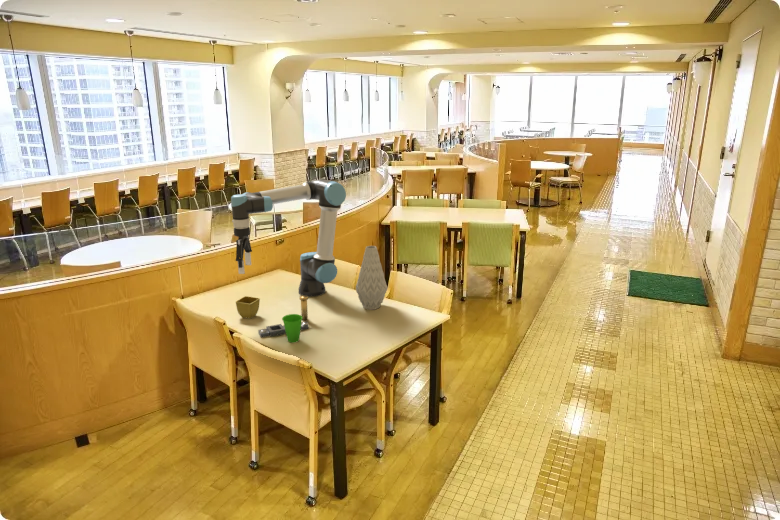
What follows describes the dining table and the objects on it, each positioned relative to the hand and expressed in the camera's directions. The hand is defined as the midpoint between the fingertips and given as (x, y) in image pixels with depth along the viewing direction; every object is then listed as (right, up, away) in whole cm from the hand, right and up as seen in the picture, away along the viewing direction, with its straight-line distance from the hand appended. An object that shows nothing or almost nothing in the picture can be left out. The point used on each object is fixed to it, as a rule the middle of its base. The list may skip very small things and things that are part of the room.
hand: (245, 269), depth 261 cm
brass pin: (+29, -25, +3) cm, 38 cm away
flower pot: (0, -24, +7) cm, 25 cm away
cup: (+27, -32, -19) cm, 46 cm away
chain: (+21, -29, -10) cm, 37 cm away
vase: (+61, -20, +20) cm, 68 cm away
